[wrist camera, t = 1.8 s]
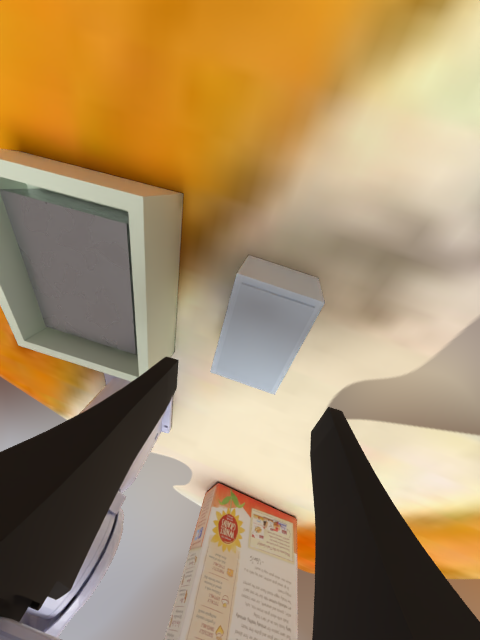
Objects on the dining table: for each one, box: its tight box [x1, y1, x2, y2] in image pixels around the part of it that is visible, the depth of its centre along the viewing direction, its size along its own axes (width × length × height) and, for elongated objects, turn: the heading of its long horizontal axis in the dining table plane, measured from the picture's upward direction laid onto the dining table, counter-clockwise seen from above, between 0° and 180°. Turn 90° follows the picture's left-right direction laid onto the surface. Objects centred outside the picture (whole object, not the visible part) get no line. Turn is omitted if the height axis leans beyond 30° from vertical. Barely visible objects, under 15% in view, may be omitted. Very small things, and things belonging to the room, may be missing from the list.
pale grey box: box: [210, 255, 325, 395], centre depth 16 cm, size 8×5×4 cm, turn 165°
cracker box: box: [164, 483, 298, 640], centre depth 27 cm, size 14×6×21 cm, turn 64°
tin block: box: [0, 189, 138, 355], centre depth 16 cm, size 10×8×2 cm
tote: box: [0, 149, 183, 382], centre depth 16 cm, size 14×12×4 cm
